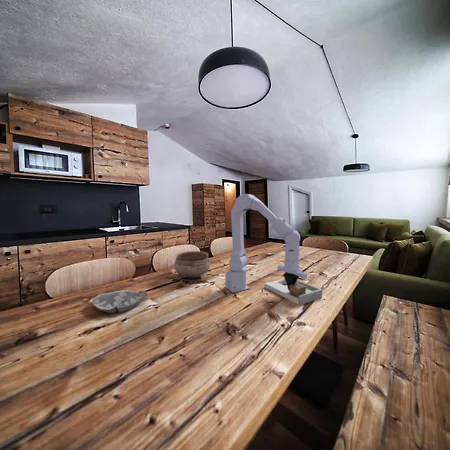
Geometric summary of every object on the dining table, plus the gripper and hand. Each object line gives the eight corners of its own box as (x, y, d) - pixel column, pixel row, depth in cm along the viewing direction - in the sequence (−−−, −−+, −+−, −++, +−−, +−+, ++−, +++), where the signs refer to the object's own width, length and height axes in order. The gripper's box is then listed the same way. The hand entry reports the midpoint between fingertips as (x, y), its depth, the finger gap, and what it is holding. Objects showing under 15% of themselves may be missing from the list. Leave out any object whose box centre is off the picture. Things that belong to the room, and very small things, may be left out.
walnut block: (298, 298, 88) (298, 288, 87) (289, 294, 91) (289, 285, 91) (305, 295, 90) (306, 286, 89) (297, 292, 94) (297, 283, 93)
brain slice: (84, 320, 75) (83, 312, 75) (98, 299, 91) (98, 292, 91) (144, 313, 80) (144, 305, 80) (148, 294, 96) (147, 287, 96)
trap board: (299, 305, 86) (300, 296, 86) (264, 287, 104) (264, 280, 103) (321, 297, 93) (322, 289, 93) (285, 282, 111) (285, 275, 110)
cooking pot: (220, 279, 114) (220, 256, 113) (187, 288, 102) (187, 262, 101) (196, 268, 134) (195, 248, 132) (166, 274, 122) (166, 252, 121)
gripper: (312, 261, 88) (311, 294, 90) (285, 254, 101) (284, 282, 102) (300, 264, 85) (299, 298, 86) (274, 256, 97) (273, 285, 98)
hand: (290, 290), depth 94 cm, fingers closed
